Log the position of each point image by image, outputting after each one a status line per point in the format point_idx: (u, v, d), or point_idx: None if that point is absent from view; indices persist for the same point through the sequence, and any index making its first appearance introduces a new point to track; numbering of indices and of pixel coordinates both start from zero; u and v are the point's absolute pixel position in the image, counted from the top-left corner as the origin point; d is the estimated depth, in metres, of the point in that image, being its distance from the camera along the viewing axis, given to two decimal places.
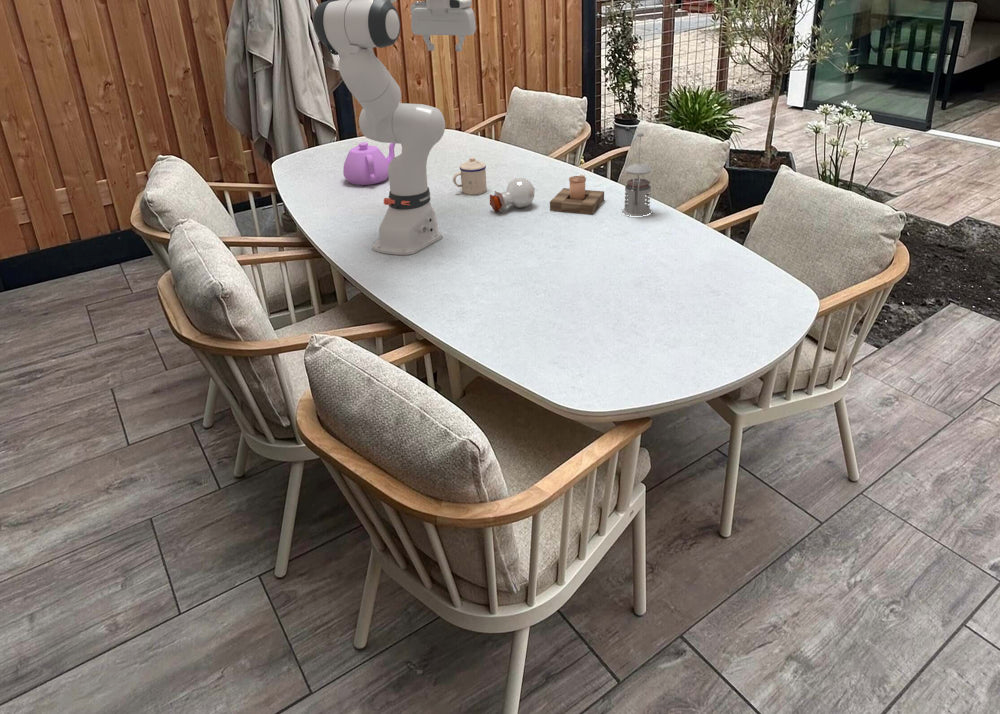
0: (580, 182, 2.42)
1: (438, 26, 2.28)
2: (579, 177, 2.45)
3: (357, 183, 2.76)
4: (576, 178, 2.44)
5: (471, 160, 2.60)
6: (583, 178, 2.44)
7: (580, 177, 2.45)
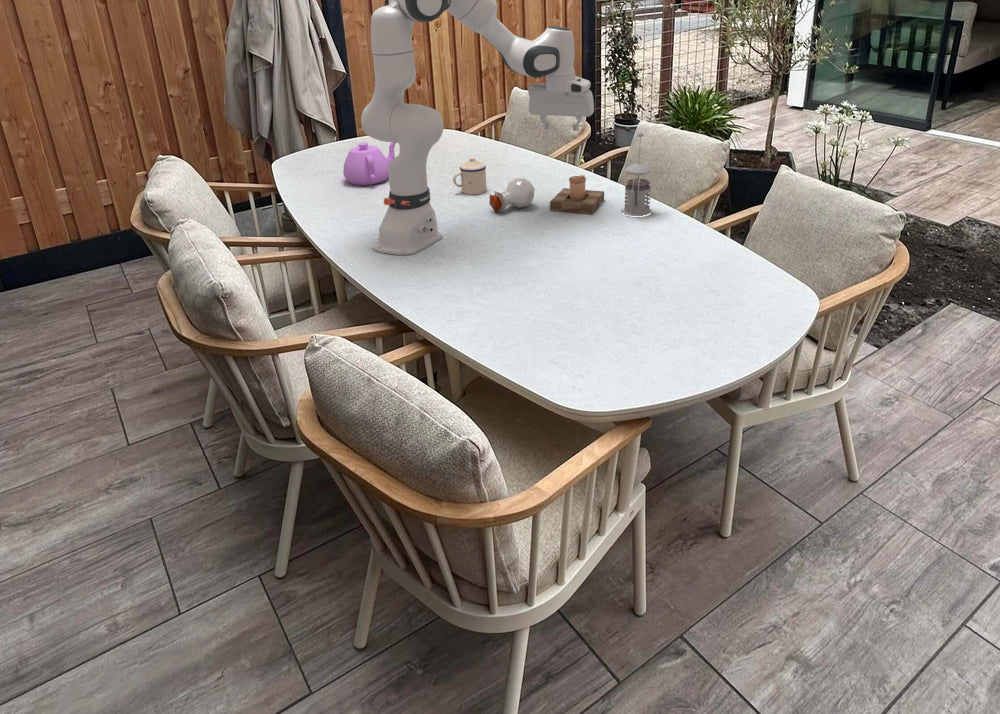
0: (580, 182, 2.42)
1: (556, 107, 2.33)
2: (579, 177, 2.45)
3: (357, 183, 2.76)
4: (576, 178, 2.44)
5: (471, 160, 2.60)
6: (583, 178, 2.44)
7: (580, 177, 2.45)
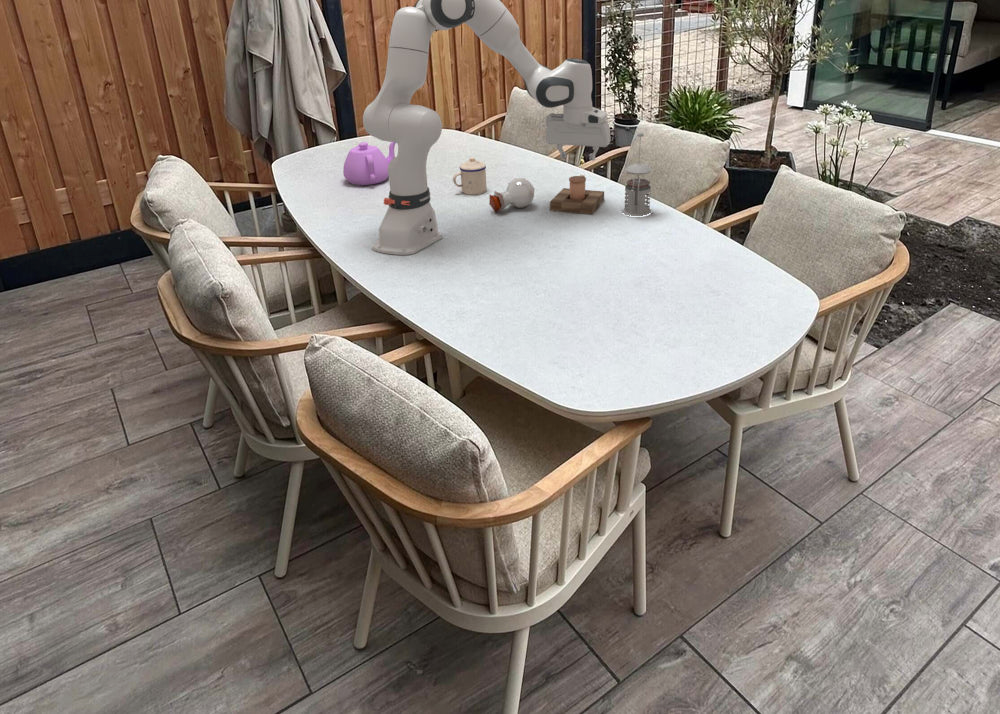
0: (580, 182, 2.42)
1: (573, 137, 2.36)
2: (579, 177, 2.45)
3: (357, 183, 2.76)
4: (576, 178, 2.44)
5: (471, 160, 2.60)
6: (583, 178, 2.44)
7: (580, 177, 2.45)
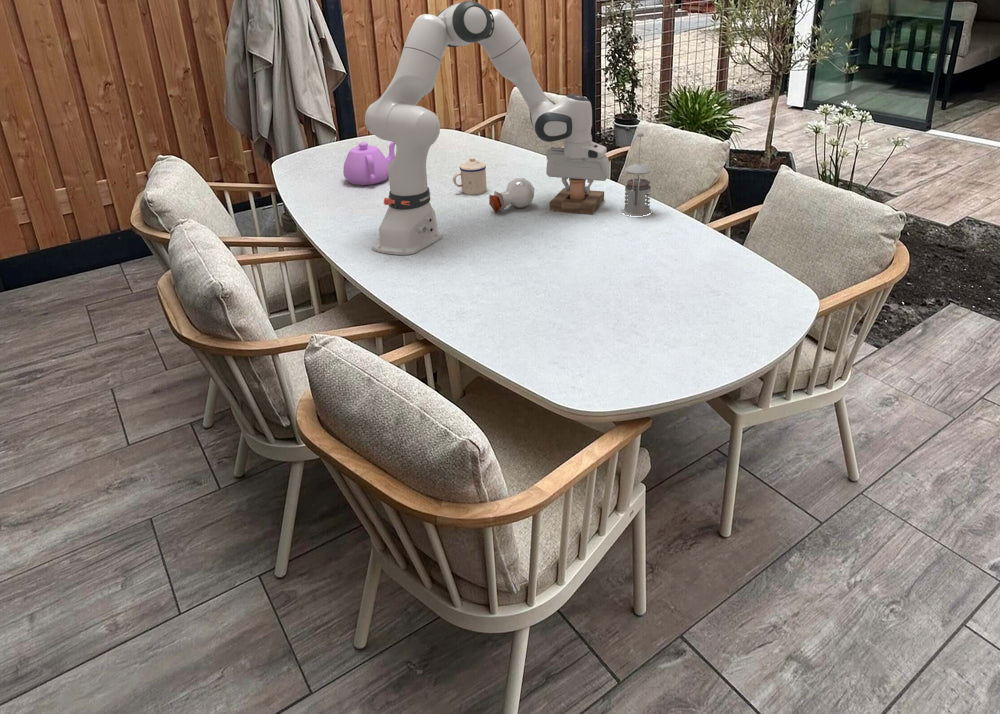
0: (580, 182, 2.42)
1: (573, 171, 2.41)
2: None
3: (357, 183, 2.76)
4: None
5: (471, 160, 2.60)
6: None
7: None
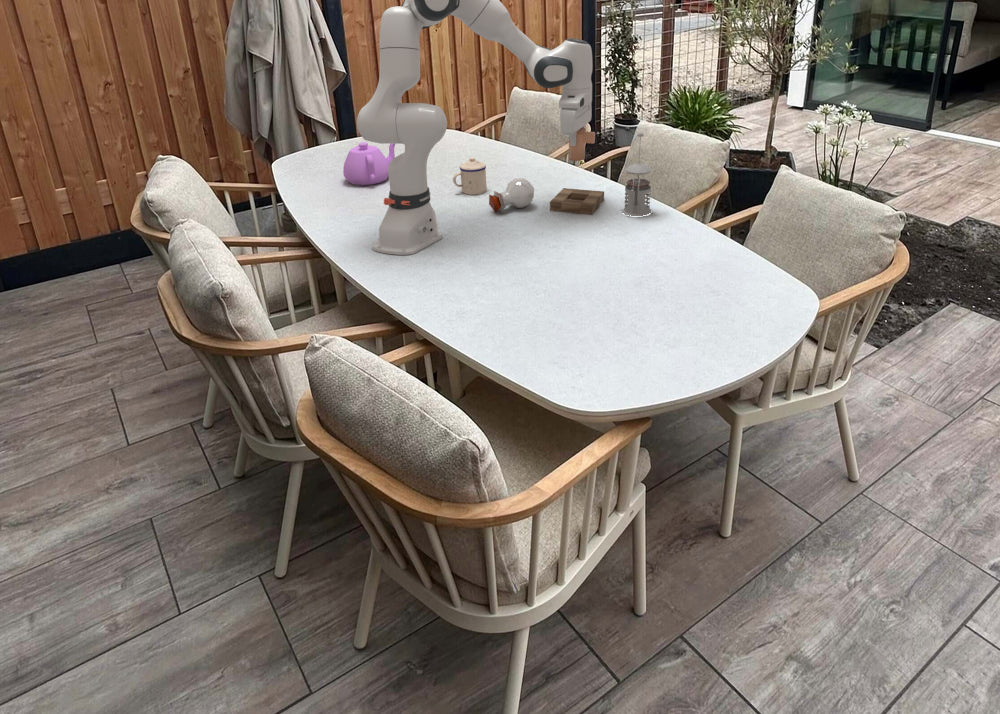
0: None
1: None
2: (580, 130, 2.34)
3: (357, 183, 2.76)
4: None
5: (471, 160, 2.60)
6: None
7: (579, 130, 2.34)
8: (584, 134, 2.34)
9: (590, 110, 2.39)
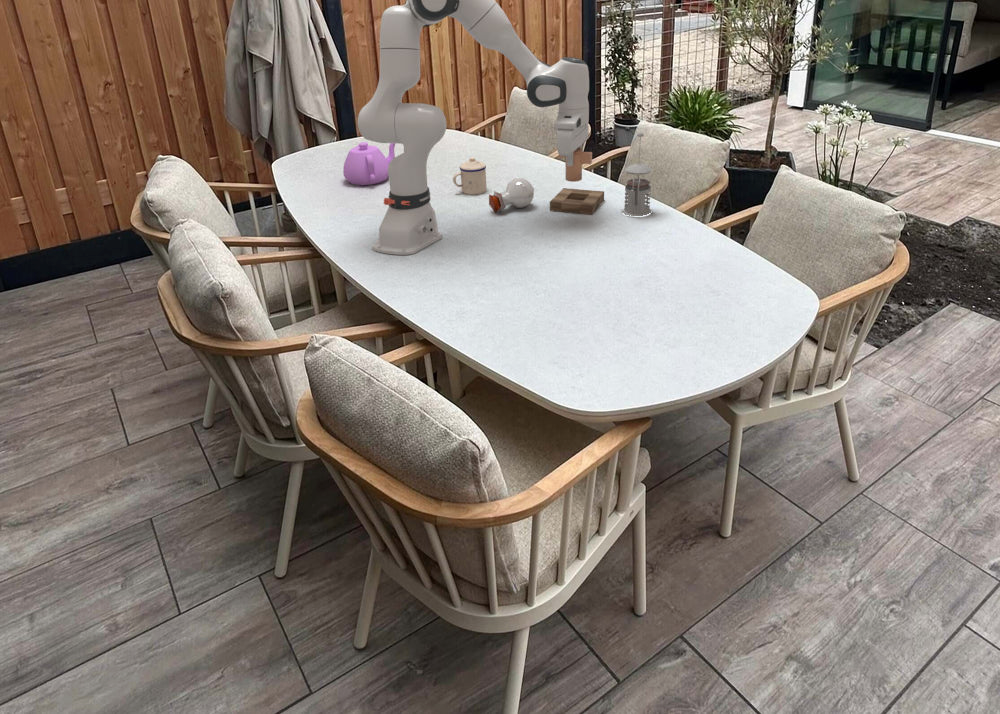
0: None
1: None
2: (577, 150, 2.29)
3: (357, 183, 2.76)
4: None
5: (471, 160, 2.60)
6: None
7: (576, 150, 2.29)
8: (581, 155, 2.29)
9: (587, 128, 2.33)
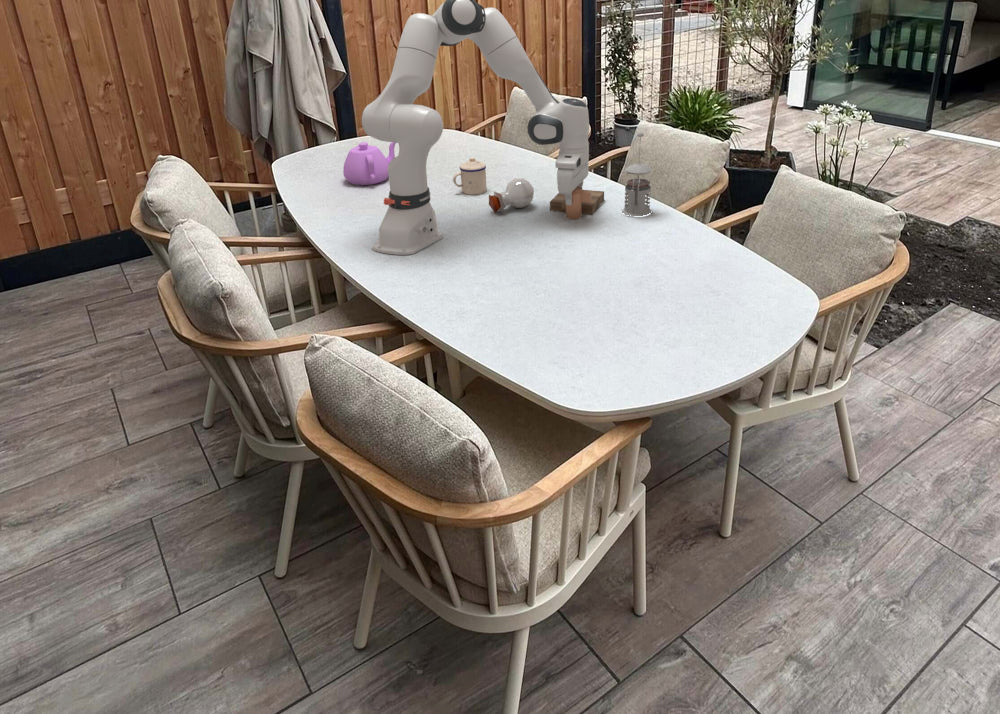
0: None
1: None
2: (577, 189, 2.35)
3: (357, 183, 2.76)
4: None
5: (471, 160, 2.60)
6: None
7: (576, 189, 2.34)
8: (581, 193, 2.34)
9: (587, 166, 2.39)
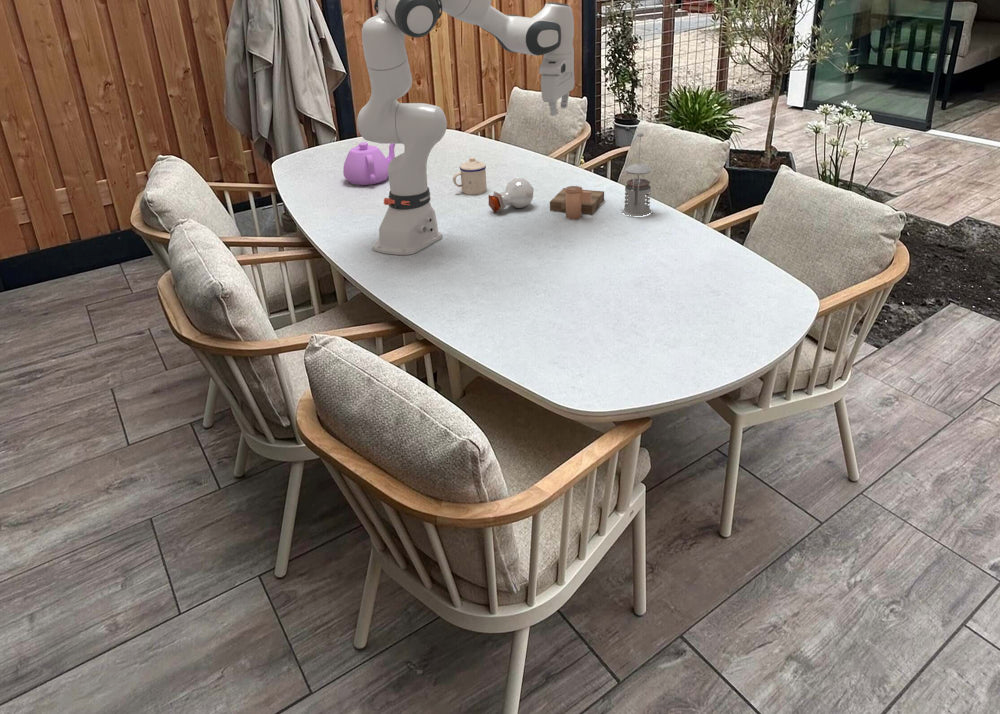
0: (565, 191, 2.35)
1: None
2: (576, 189, 2.35)
3: (357, 183, 2.76)
4: (573, 188, 2.36)
5: (471, 160, 2.60)
6: (573, 190, 2.34)
7: (576, 189, 2.34)
8: (581, 193, 2.34)
9: (573, 78, 2.31)
